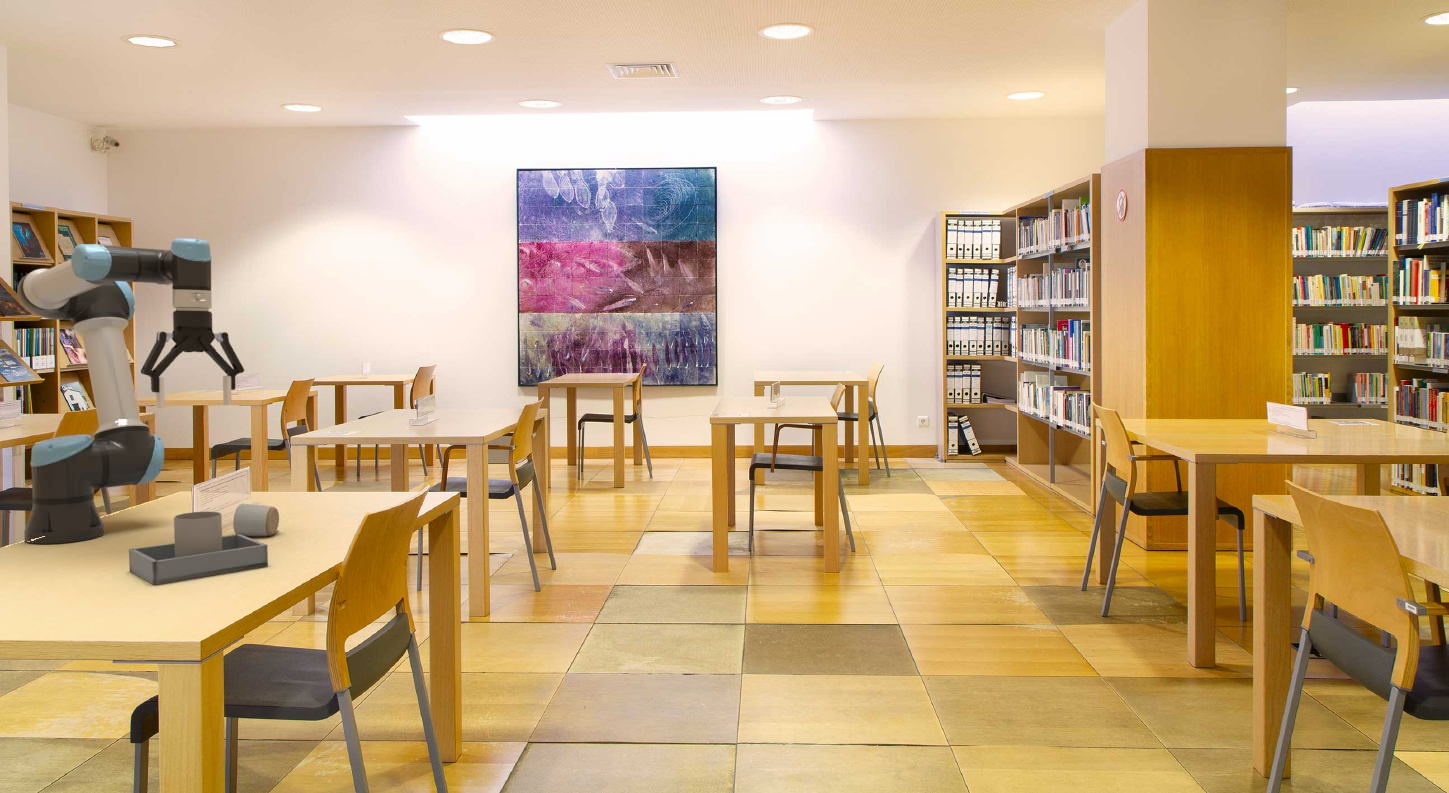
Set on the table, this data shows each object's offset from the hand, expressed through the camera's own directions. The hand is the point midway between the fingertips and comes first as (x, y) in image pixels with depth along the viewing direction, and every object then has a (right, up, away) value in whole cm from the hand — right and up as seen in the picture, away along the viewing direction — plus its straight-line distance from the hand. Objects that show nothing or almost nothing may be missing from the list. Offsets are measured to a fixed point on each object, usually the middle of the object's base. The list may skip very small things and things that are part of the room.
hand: (194, 406), depth 209 cm
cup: (+10, -32, -17) cm, 38 cm away
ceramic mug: (+6, -31, +16) cm, 36 cm away
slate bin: (+10, -33, -17) cm, 38 cm away
